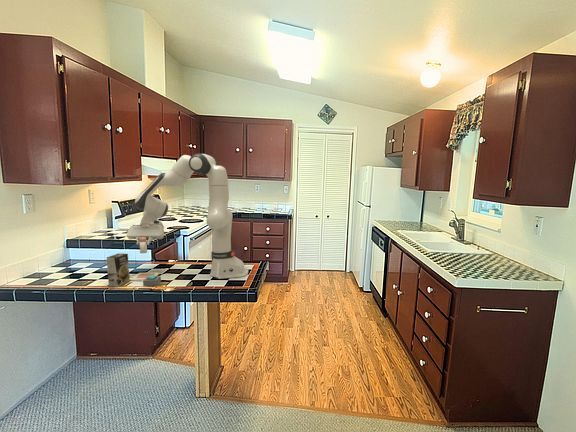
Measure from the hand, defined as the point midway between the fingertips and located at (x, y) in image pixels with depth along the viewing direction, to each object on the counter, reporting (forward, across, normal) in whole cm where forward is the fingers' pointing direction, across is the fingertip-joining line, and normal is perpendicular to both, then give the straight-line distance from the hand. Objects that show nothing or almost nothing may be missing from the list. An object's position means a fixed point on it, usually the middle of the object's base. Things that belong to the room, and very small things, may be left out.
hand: (142, 244), depth 179 cm
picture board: (+14, 0, +14) cm, 20 cm away
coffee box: (+21, -10, +7) cm, 24 cm away
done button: (+20, +8, +5) cm, 22 cm away
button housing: (+21, +8, +6) cm, 24 cm away
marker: (+3, 0, +4) cm, 5 cm away
